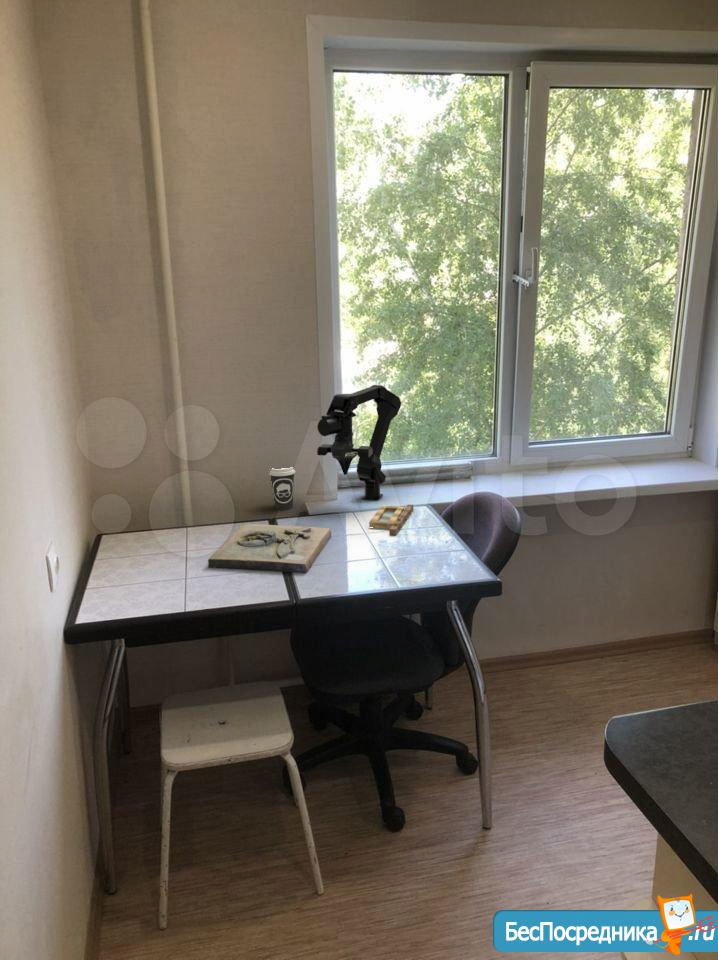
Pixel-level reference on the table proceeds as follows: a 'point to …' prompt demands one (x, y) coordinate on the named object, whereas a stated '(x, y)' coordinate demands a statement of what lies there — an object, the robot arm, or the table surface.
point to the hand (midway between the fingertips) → (345, 474)
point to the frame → (385, 517)
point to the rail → (401, 520)
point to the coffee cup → (283, 487)
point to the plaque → (271, 548)
